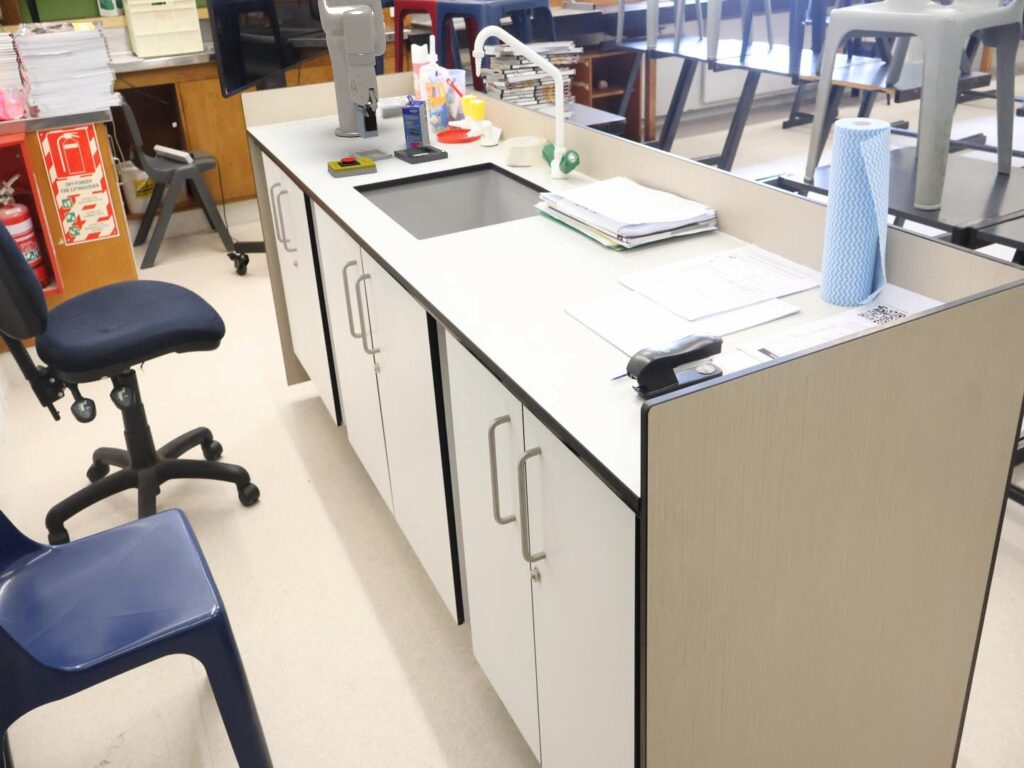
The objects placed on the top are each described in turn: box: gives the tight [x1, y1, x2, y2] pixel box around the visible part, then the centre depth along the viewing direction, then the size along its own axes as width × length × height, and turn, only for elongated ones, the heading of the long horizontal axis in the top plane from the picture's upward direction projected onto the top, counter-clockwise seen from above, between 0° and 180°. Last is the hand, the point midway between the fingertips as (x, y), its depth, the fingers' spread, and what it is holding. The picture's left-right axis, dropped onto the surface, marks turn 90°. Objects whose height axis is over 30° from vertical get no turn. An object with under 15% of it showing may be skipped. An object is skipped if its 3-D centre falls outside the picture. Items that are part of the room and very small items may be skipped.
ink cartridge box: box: [401, 93, 431, 149], centre depth 261 cm, size 10×6×14 cm, turn 174°
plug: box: [356, 105, 379, 139], centre depth 248 cm, size 4×4×8 cm
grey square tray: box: [348, 147, 394, 162], centre depth 252 cm, size 9×9×2 cm
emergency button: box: [327, 156, 378, 179], centre depth 239 cm, size 9×4×15 cm
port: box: [393, 144, 449, 165], centre depth 250 cm, size 11×11×2 cm
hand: (367, 128), depth 249 cm, fingers closed on plug, 4 cm apart
